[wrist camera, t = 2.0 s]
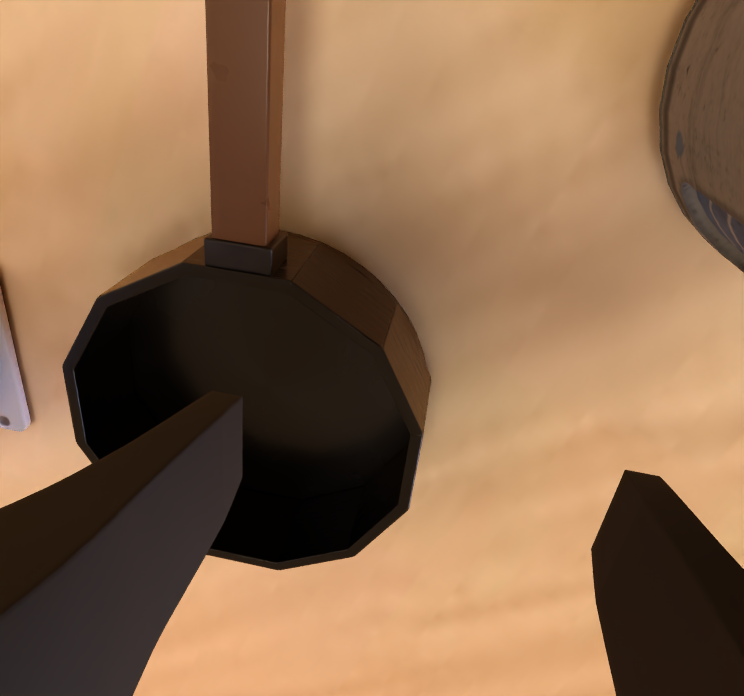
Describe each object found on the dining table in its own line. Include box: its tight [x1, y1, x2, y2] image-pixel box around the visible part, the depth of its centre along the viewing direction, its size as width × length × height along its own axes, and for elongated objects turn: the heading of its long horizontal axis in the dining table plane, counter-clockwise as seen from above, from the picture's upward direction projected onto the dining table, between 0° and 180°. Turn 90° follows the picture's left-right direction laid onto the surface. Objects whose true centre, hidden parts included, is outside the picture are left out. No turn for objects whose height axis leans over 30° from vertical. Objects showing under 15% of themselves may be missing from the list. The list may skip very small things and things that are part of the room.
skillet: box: [62, 0, 431, 570], centre depth 19 cm, size 20×12×4 cm, turn 174°
